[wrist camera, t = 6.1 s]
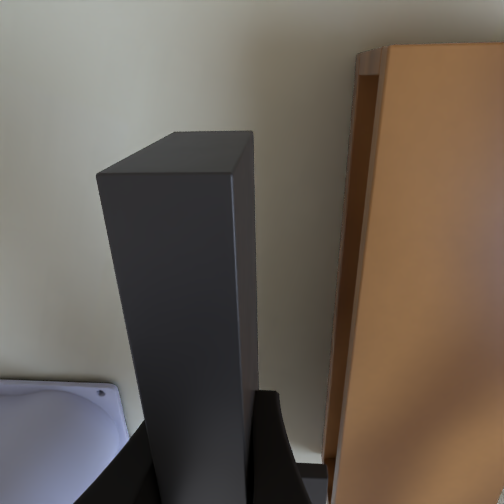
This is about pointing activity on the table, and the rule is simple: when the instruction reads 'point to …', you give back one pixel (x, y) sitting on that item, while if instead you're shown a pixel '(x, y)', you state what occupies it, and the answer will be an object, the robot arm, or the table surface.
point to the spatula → (193, 309)
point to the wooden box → (420, 282)
